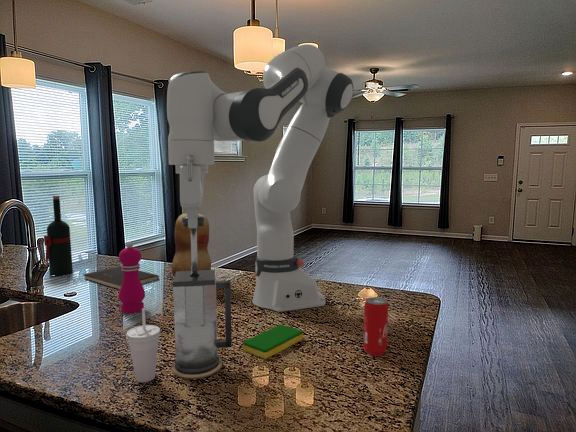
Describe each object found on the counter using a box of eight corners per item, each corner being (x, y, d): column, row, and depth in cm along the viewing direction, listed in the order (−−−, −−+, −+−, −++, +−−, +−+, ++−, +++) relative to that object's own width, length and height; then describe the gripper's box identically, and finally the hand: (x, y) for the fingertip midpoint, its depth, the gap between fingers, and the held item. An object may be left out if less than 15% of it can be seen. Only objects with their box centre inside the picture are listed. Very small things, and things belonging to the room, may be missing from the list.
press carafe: (230, 352, 94) (229, 267, 92) (233, 375, 84) (231, 280, 81) (173, 357, 92) (170, 270, 89) (169, 381, 82) (165, 284, 79)
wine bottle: (39, 276, 157) (33, 196, 154) (65, 270, 166) (60, 194, 162) (51, 278, 153) (45, 197, 150) (77, 272, 162) (72, 195, 158)
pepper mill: (137, 315, 117) (133, 245, 114) (113, 313, 118) (110, 244, 116) (150, 306, 124) (147, 240, 121) (128, 305, 125) (125, 239, 123)
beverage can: (370, 344, 98) (371, 295, 97) (390, 350, 95) (392, 300, 94) (359, 352, 94) (360, 301, 93) (380, 359, 91) (381, 306, 90)
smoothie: (165, 369, 86) (163, 304, 85) (157, 385, 80) (154, 315, 78) (134, 369, 86) (131, 304, 84) (123, 386, 80) (119, 315, 78)
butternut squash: (192, 291, 139) (190, 216, 136) (164, 285, 146) (161, 214, 143) (219, 281, 151) (218, 212, 148) (192, 276, 158) (191, 210, 155)
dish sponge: (242, 351, 96) (242, 341, 95) (281, 332, 106) (281, 323, 106) (265, 360, 91) (265, 350, 91) (303, 340, 102) (303, 330, 101)
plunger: (209, 281, 89) (208, 215, 87) (209, 289, 83) (208, 218, 81) (181, 282, 88) (178, 215, 86) (178, 291, 82) (176, 219, 80)
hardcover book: (120, 291, 140) (119, 284, 140) (83, 280, 154) (83, 274, 153) (159, 280, 153) (159, 274, 153) (122, 271, 167) (122, 265, 166)
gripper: (207, 155, 73) (209, 233, 74) (208, 157, 93) (209, 218, 94) (170, 155, 71) (172, 234, 73) (178, 156, 91) (180, 219, 93)
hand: (193, 225), depth 84 cm, fingers closed on plunger, 4 cm apart
